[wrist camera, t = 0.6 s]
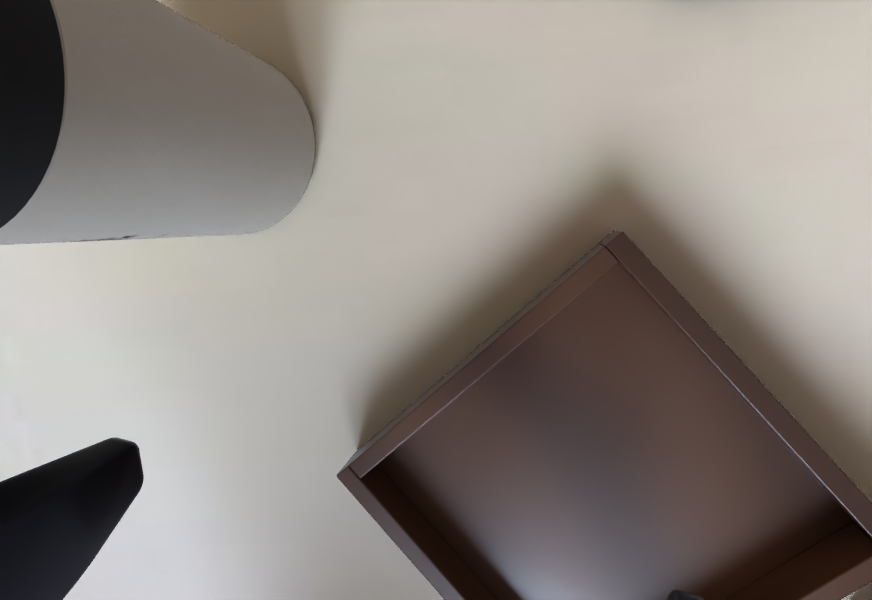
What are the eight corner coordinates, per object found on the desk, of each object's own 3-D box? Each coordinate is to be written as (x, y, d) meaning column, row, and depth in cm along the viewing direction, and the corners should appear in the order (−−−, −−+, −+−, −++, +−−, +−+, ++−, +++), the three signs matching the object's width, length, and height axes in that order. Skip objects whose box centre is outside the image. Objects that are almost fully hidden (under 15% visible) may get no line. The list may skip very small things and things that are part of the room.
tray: (574, 700, 26) (577, 752, 23) (355, 451, 26) (335, 476, 24) (876, 516, 22) (919, 555, 19) (614, 229, 22) (622, 230, 20)
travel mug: (206, 23, 25) (-627, -457, 7) (349, 114, 24) (-191, -174, 6) (136, 177, 26) (-663, 92, 9) (268, 266, 26) (-326, 362, 8)
